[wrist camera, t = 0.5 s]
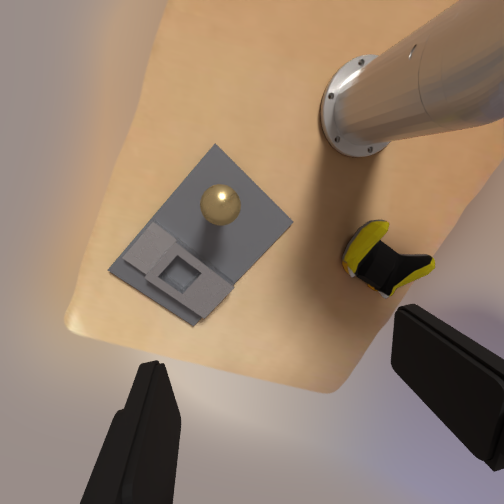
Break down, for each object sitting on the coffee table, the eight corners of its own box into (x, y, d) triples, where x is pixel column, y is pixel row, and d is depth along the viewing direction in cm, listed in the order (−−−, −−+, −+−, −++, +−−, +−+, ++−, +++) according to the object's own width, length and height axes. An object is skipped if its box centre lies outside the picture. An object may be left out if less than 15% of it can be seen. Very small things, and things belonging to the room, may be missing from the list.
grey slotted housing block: (155, 219, 34) (151, 223, 32) (233, 280, 39) (234, 287, 37) (124, 255, 35) (119, 260, 33) (204, 310, 40) (204, 318, 38)
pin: (217, 174, 33) (218, 175, 25) (240, 196, 35) (249, 204, 26) (196, 197, 34) (191, 206, 26) (220, 218, 35) (222, 233, 27)
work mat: (215, 144, 33) (215, 143, 32) (291, 220, 38) (293, 221, 37) (110, 267, 36) (107, 270, 35) (194, 322, 41) (193, 326, 41)
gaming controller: (361, 210, 40) (325, 258, 42) (383, 215, 35) (341, 271, 37) (417, 253, 44) (382, 295, 46) (444, 264, 39) (403, 311, 41)
